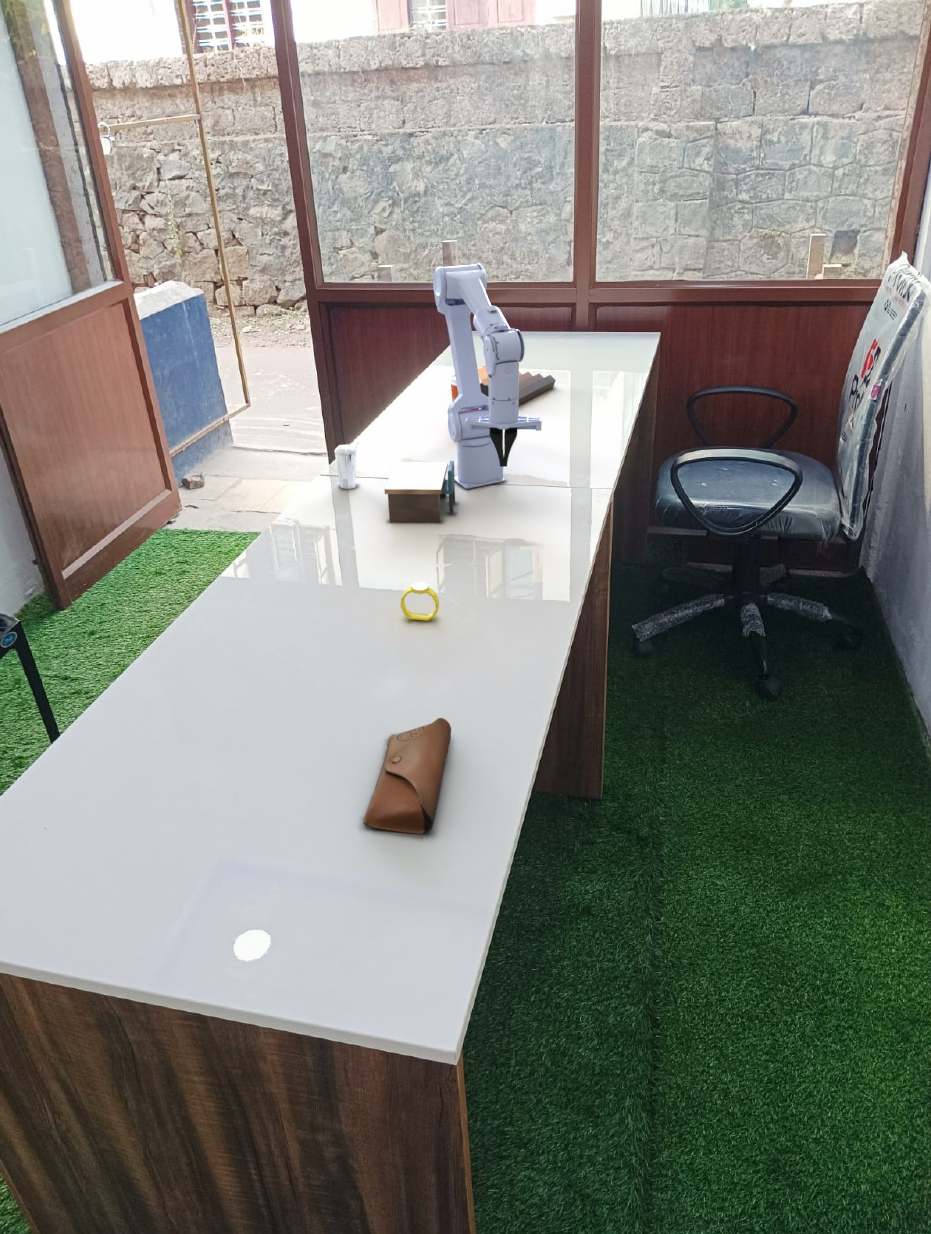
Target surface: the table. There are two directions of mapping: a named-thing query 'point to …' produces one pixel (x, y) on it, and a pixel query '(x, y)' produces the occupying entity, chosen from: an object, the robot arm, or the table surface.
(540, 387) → the pan flute
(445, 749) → the sunglasses case
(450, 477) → the chair
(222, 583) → the table surface
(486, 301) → the robot arm
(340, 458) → the milkshake
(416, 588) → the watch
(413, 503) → the desk
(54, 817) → the table surface
